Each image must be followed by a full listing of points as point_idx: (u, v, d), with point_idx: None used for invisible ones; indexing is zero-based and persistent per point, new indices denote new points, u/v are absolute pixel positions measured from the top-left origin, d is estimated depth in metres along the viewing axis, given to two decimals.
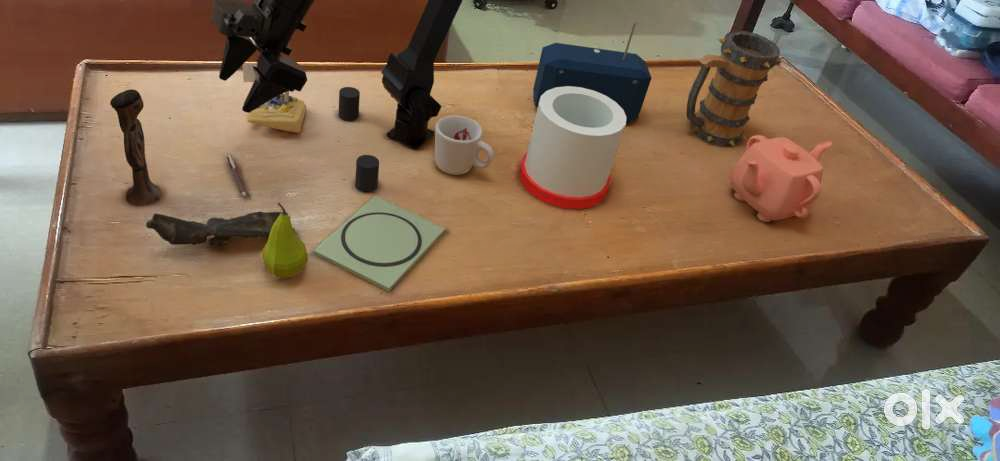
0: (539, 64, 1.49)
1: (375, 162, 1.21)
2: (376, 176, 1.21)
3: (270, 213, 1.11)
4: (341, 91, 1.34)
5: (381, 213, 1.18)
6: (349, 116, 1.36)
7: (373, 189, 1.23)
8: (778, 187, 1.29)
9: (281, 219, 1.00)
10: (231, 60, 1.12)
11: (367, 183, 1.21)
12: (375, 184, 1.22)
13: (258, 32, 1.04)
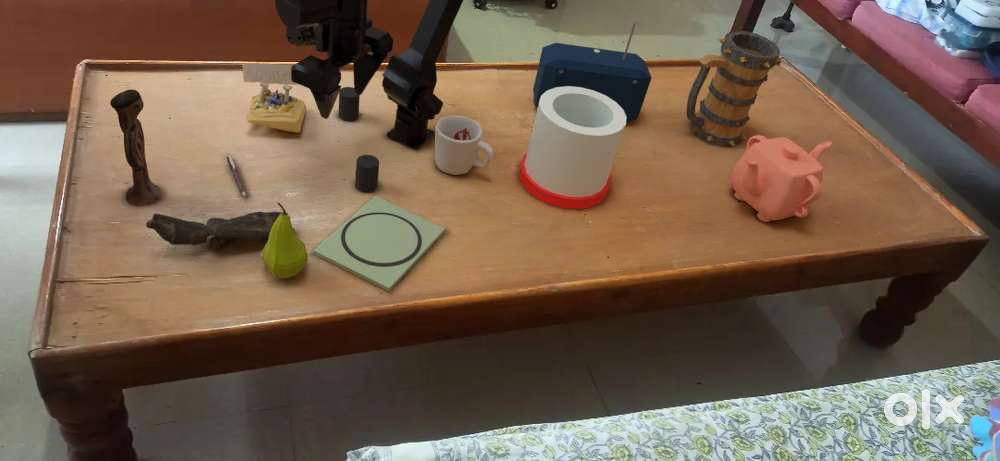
0: (539, 64, 1.49)
1: (375, 162, 1.21)
2: (376, 176, 1.21)
3: (270, 213, 1.11)
4: (341, 91, 1.34)
5: (381, 213, 1.18)
6: (349, 116, 1.36)
7: (373, 189, 1.23)
8: (778, 187, 1.29)
9: (281, 219, 1.00)
10: (358, 75, 1.20)
11: (367, 183, 1.21)
12: (375, 184, 1.22)
13: (315, 40, 1.10)
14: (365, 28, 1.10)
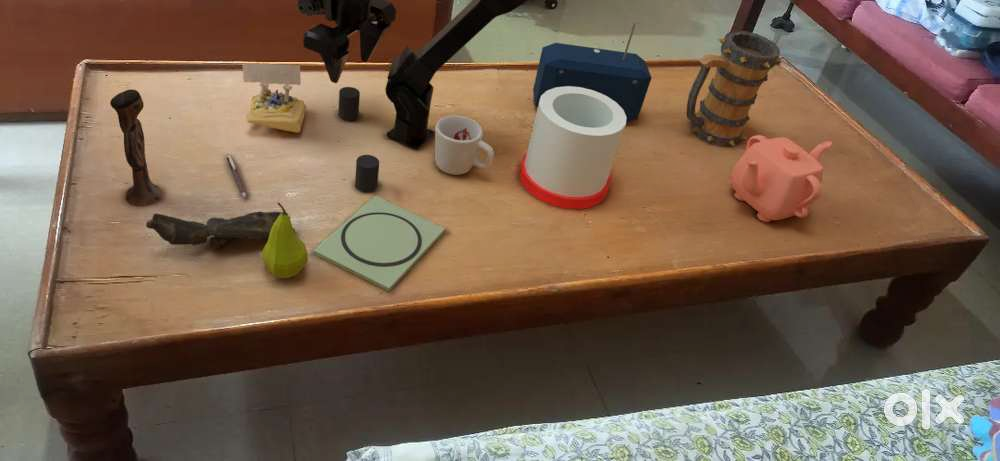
0: (539, 64, 1.49)
1: (375, 162, 1.21)
2: (376, 176, 1.21)
3: (270, 213, 1.11)
4: (341, 91, 1.34)
5: (381, 213, 1.18)
6: (349, 116, 1.36)
7: (373, 189, 1.23)
8: (778, 187, 1.29)
9: (281, 219, 1.00)
10: (364, 43, 1.30)
11: (367, 183, 1.21)
12: (375, 184, 1.22)
13: (325, 10, 1.20)
14: None
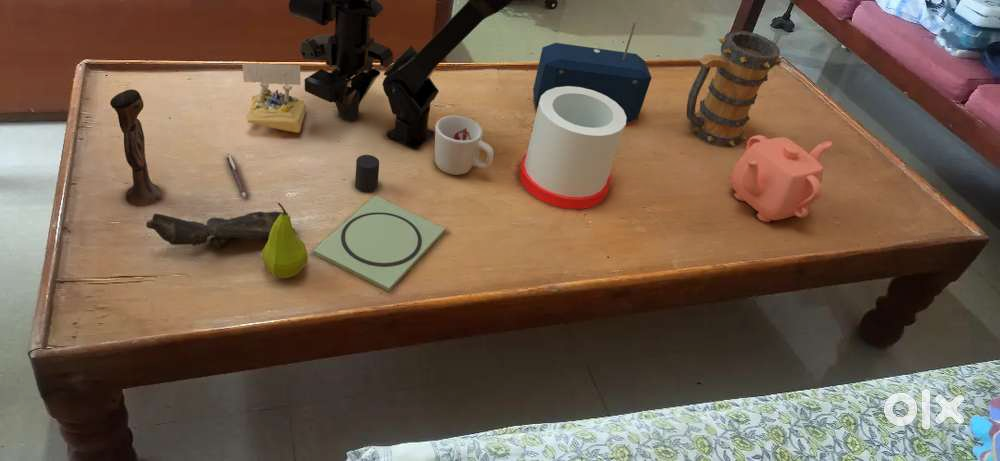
0: (539, 64, 1.49)
1: (375, 162, 1.21)
2: (376, 176, 1.21)
3: (270, 213, 1.11)
4: None
5: (381, 213, 1.18)
6: (349, 116, 1.36)
7: (373, 189, 1.23)
8: (778, 187, 1.29)
9: (281, 219, 1.00)
10: None
11: (367, 183, 1.21)
12: (375, 184, 1.22)
13: (325, 56, 1.29)
14: (368, 46, 1.28)
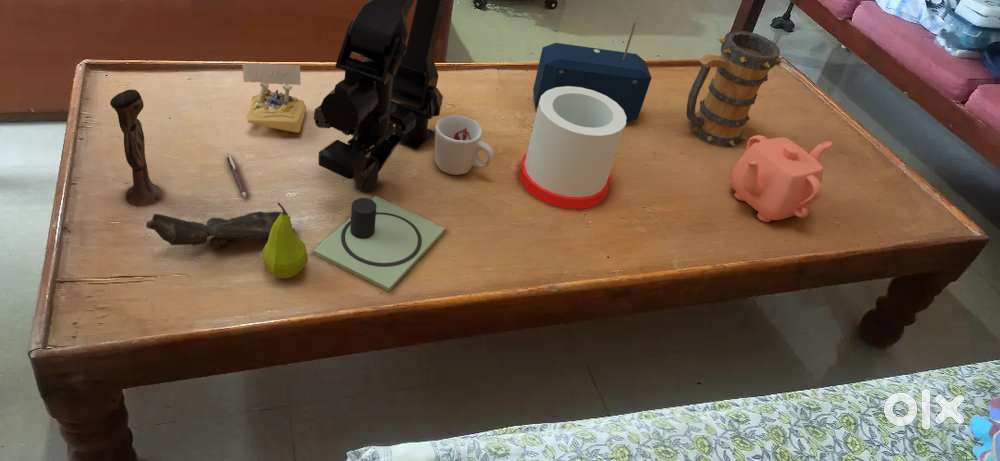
0: (539, 64, 1.49)
1: (375, 162, 1.21)
2: (376, 176, 1.21)
3: (270, 213, 1.11)
4: (354, 205, 1.10)
5: (381, 213, 1.18)
6: (364, 233, 1.12)
7: (373, 189, 1.23)
8: (778, 187, 1.29)
9: (281, 219, 1.00)
10: None
11: (367, 183, 1.21)
12: (375, 184, 1.22)
13: None
14: (389, 113, 1.14)
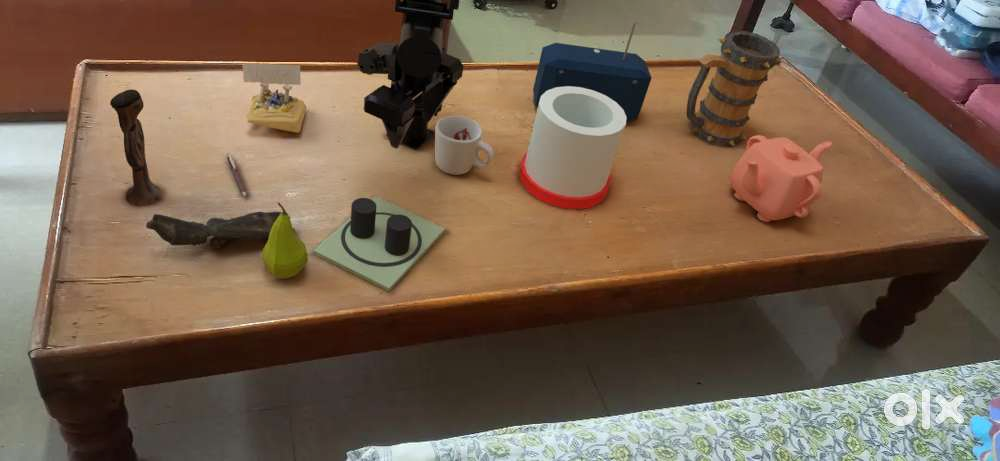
0: (539, 64, 1.49)
1: (408, 223, 1.09)
2: (408, 238, 1.10)
3: (270, 213, 1.11)
4: (354, 205, 1.10)
5: (381, 213, 1.18)
6: (364, 233, 1.12)
7: (405, 252, 1.11)
8: (778, 187, 1.29)
9: (281, 219, 1.00)
10: (427, 102, 1.17)
11: (398, 246, 1.10)
12: (407, 246, 1.11)
13: (387, 69, 1.08)
14: None
